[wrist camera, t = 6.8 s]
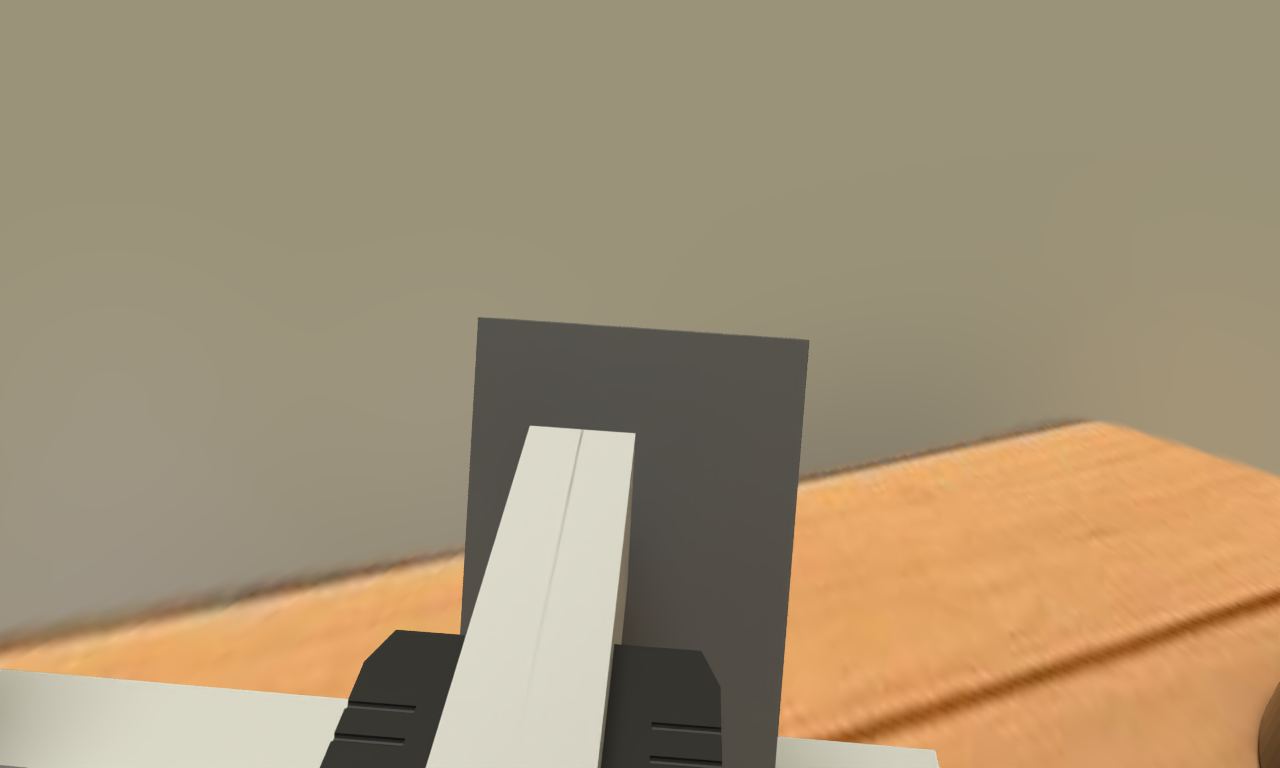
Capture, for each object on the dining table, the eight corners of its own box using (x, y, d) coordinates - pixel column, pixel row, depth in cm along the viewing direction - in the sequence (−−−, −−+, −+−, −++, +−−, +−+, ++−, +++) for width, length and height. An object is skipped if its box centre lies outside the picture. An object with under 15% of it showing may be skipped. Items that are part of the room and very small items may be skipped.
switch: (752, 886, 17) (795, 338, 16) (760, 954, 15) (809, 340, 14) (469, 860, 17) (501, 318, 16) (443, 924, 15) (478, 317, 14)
